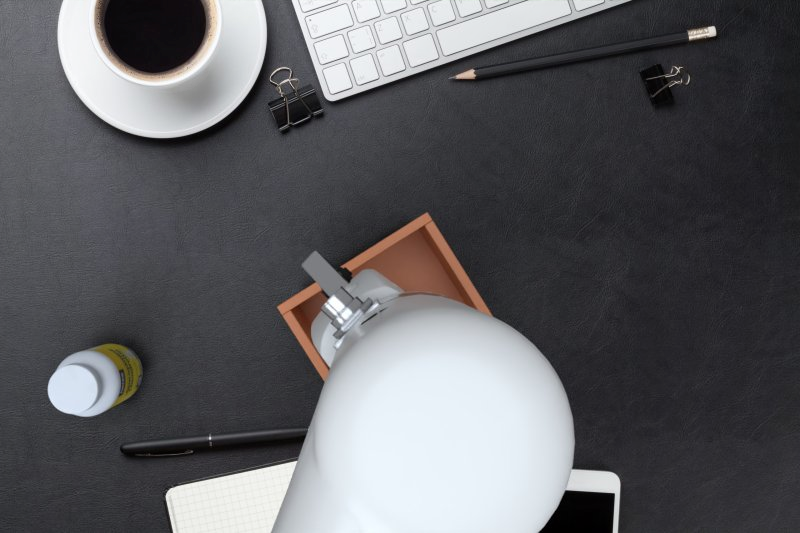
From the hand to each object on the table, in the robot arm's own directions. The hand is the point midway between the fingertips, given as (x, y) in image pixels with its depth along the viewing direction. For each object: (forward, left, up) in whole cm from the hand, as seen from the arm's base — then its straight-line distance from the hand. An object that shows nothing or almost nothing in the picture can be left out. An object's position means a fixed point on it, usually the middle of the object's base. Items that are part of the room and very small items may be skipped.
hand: (401, 338), depth 50 cm
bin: (0, 0, -10) cm, 10 cm away
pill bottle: (+10, +29, -34) cm, 46 cm away
